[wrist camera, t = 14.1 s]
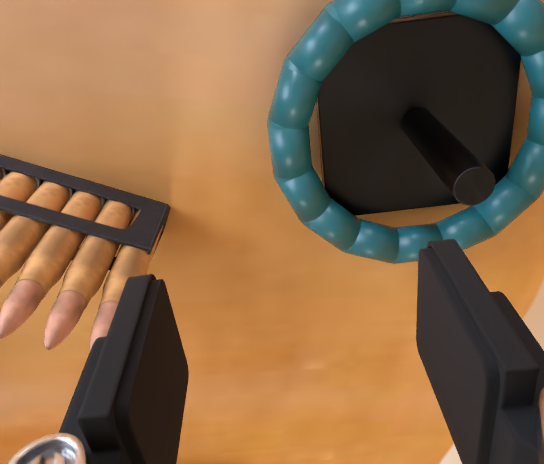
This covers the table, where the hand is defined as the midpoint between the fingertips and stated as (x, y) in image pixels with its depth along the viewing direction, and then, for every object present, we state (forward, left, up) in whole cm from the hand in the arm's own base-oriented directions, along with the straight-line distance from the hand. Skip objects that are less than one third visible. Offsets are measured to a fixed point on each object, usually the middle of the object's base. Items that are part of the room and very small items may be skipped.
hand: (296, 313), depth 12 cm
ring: (+2, +7, -15) cm, 17 cm away
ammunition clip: (+4, -12, -18) cm, 22 cm away
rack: (+2, +7, -18) cm, 19 cm away
